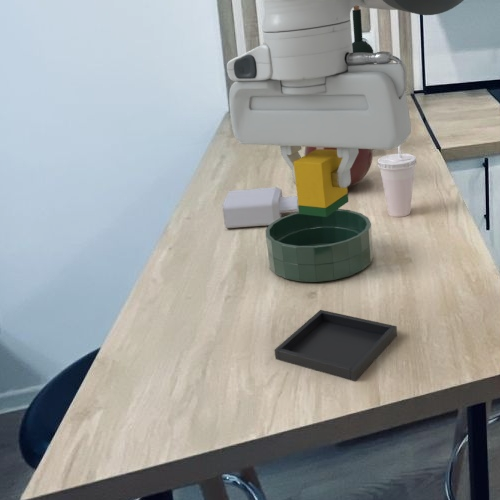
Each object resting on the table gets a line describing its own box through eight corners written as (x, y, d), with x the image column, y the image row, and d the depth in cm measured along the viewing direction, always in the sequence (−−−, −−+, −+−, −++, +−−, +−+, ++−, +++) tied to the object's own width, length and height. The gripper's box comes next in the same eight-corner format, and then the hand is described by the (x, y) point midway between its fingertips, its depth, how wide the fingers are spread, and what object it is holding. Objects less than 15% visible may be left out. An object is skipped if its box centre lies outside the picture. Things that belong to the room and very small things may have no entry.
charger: (310, 224, 114) (225, 230, 116) (312, 206, 122) (233, 212, 125) (307, 198, 112) (221, 205, 114) (310, 182, 120) (230, 188, 123)
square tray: (397, 338, 76) (396, 326, 75) (355, 385, 69) (354, 371, 68) (321, 321, 82) (320, 309, 81) (275, 362, 75) (274, 349, 74)
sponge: (348, 201, 74) (344, 150, 72) (326, 217, 70) (321, 163, 68) (321, 199, 76) (316, 148, 74) (298, 214, 72) (293, 161, 70)
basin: (390, 251, 99) (388, 214, 97) (340, 294, 88) (337, 253, 86) (304, 239, 108) (301, 204, 105) (250, 276, 97) (245, 239, 95)
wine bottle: (349, 122, 182) (341, 8, 171) (348, 114, 192) (341, 6, 180) (378, 119, 181) (372, 4, 170) (376, 111, 190) (370, 2, 179)
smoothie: (411, 221, 109) (408, 138, 104) (374, 218, 112) (369, 138, 107) (423, 208, 114) (421, 128, 109) (388, 205, 117) (384, 128, 112)
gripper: (418, 44, 63) (423, 181, 69) (248, 54, 75) (263, 170, 80) (390, 56, 59) (398, 201, 64) (213, 64, 71) (232, 187, 76)
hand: (321, 184), depth 72 cm, fingers closed on sponge, 3 cm apart
